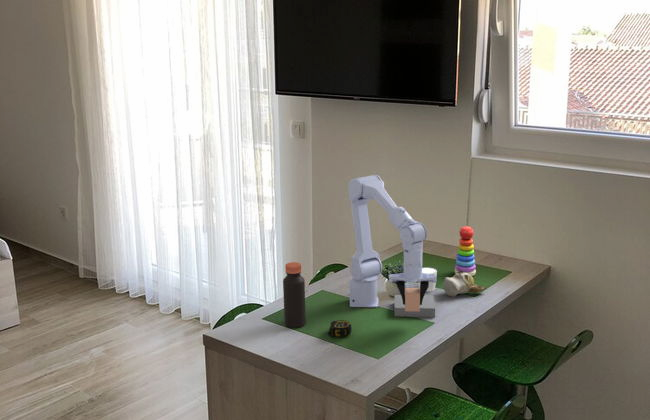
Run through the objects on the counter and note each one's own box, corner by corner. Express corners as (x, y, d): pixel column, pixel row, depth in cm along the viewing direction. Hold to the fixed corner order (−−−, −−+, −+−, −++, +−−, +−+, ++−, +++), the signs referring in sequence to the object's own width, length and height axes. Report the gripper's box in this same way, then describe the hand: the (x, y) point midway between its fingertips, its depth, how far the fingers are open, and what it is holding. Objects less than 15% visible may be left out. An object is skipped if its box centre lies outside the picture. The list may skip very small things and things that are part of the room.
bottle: (280, 324, 221) (277, 264, 216) (296, 317, 226) (294, 259, 220) (294, 330, 216) (292, 270, 211) (310, 323, 221) (308, 264, 216)
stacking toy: (450, 271, 264) (451, 224, 259) (469, 269, 266) (471, 222, 261) (460, 278, 257) (462, 230, 252) (479, 275, 259) (481, 227, 254)
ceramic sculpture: (436, 268, 242) (469, 263, 249) (434, 291, 244) (467, 286, 251) (455, 278, 233) (489, 272, 240) (453, 302, 235) (487, 296, 242)
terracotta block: (405, 311, 215) (405, 293, 213) (404, 305, 219) (405, 287, 218) (419, 311, 214) (420, 293, 213) (419, 305, 219) (419, 287, 217)
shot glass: (436, 293, 244) (436, 274, 242) (416, 291, 245) (416, 273, 243) (437, 285, 250) (437, 267, 248) (417, 284, 251) (418, 266, 250)
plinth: (394, 316, 225) (394, 307, 224) (394, 303, 236) (394, 294, 235) (434, 317, 224) (435, 308, 223) (433, 303, 234) (433, 295, 234)
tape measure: (331, 329, 217) (331, 318, 216) (353, 330, 216) (352, 319, 215) (327, 339, 210) (327, 327, 209) (350, 340, 209) (349, 329, 208)
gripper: (389, 266, 210) (388, 308, 213) (437, 267, 208) (436, 309, 212) (389, 258, 216) (389, 299, 220) (436, 259, 215) (435, 300, 219)
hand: (412, 303), depth 216 cm, fingers closed on terracotta block, 4 cm apart
